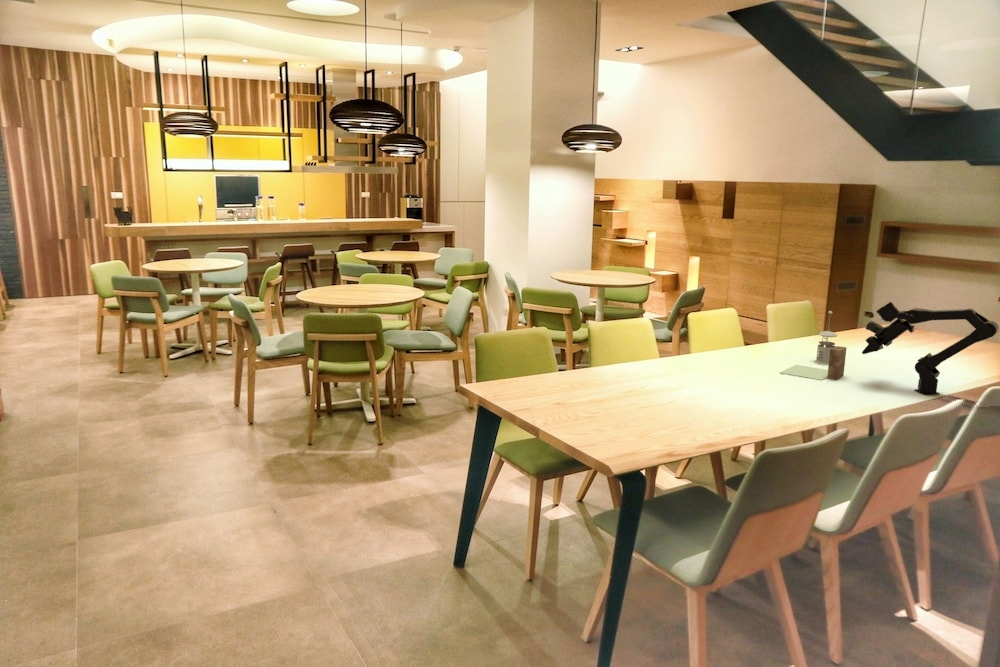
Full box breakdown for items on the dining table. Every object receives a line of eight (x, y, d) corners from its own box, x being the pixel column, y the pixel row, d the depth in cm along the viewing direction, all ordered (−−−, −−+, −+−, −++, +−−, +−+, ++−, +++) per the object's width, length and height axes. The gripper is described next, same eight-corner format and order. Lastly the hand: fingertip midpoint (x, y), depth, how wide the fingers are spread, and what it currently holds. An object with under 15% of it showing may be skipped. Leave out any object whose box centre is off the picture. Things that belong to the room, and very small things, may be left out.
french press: (815, 364, 326) (821, 312, 321) (811, 358, 337) (816, 308, 332) (838, 365, 324) (844, 313, 319) (833, 360, 335) (838, 309, 330)
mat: (836, 372, 313) (836, 371, 312) (821, 380, 298) (821, 379, 298) (795, 365, 324) (796, 364, 324) (779, 373, 310) (779, 372, 310)
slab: (843, 376, 306) (846, 347, 303) (836, 380, 299) (840, 350, 296) (833, 374, 308) (836, 346, 306) (827, 378, 302) (830, 349, 299)
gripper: (886, 313, 295) (856, 335, 305) (873, 318, 282) (842, 341, 291) (905, 333, 291) (874, 355, 301) (892, 339, 278) (860, 362, 287)
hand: (862, 353), depth 295 cm, fingers closed
